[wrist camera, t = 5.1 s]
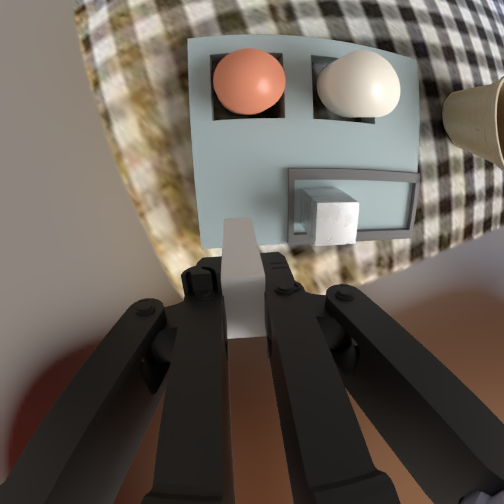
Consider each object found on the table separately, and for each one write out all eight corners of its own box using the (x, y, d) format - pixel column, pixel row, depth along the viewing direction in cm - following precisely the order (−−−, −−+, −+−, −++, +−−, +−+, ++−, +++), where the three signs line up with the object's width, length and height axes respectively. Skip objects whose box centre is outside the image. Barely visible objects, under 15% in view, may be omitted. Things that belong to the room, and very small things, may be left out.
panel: (192, 47, 16) (186, 36, 14) (401, 63, 17) (420, 59, 15) (204, 236, 23) (201, 251, 21) (394, 227, 24) (411, 239, 22)
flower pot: (416, 85, 18) (482, 82, 10) (469, 70, 17) (526, 70, 9) (443, 174, 22) (504, 199, 14) (490, 147, 21) (544, 164, 13)
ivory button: (315, 58, 15) (335, 44, 12) (370, 66, 15) (398, 57, 12) (317, 115, 17) (338, 113, 14) (372, 120, 17) (401, 121, 14)
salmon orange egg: (215, 63, 17) (212, 50, 13) (274, 62, 17) (283, 48, 13) (217, 117, 19) (214, 114, 15) (276, 115, 19) (286, 112, 15)
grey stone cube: (301, 188, 19) (317, 203, 16) (337, 187, 20) (359, 202, 16) (300, 224, 21) (315, 246, 17) (335, 222, 21) (355, 243, 17)
